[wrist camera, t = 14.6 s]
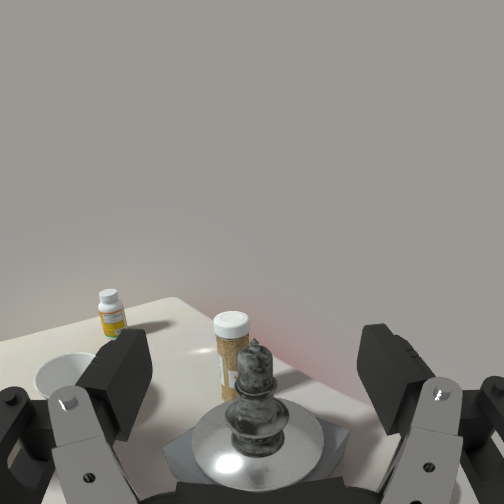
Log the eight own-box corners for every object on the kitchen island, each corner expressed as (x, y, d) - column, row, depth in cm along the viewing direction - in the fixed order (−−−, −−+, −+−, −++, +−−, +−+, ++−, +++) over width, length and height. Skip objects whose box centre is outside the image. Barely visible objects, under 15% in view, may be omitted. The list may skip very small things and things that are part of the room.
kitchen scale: (172, 474, 27) (161, 448, 25) (253, 413, 37) (252, 384, 36) (270, 542, 18) (271, 525, 17) (344, 454, 29) (352, 426, 27)
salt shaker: (280, 414, 29) (282, 317, 26) (294, 454, 23) (303, 353, 20) (224, 421, 28) (213, 324, 25) (231, 464, 22) (217, 364, 19)
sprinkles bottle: (246, 409, 38) (241, 328, 35) (216, 402, 40) (206, 322, 36) (256, 389, 43) (254, 311, 39) (228, 384, 44) (222, 307, 41)
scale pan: (170, 454, 26) (165, 439, 25) (249, 397, 35) (249, 382, 35) (270, 523, 18) (270, 512, 17) (342, 437, 27) (346, 422, 27)
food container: (74, 377, 43) (63, 346, 41) (130, 391, 41) (120, 358, 39) (36, 417, 31) (19, 384, 30) (95, 442, 30) (77, 408, 28)
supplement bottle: (110, 327, 61) (101, 287, 59) (132, 328, 61) (123, 287, 59) (101, 339, 56) (91, 297, 53) (124, 341, 56) (114, 297, 54)
